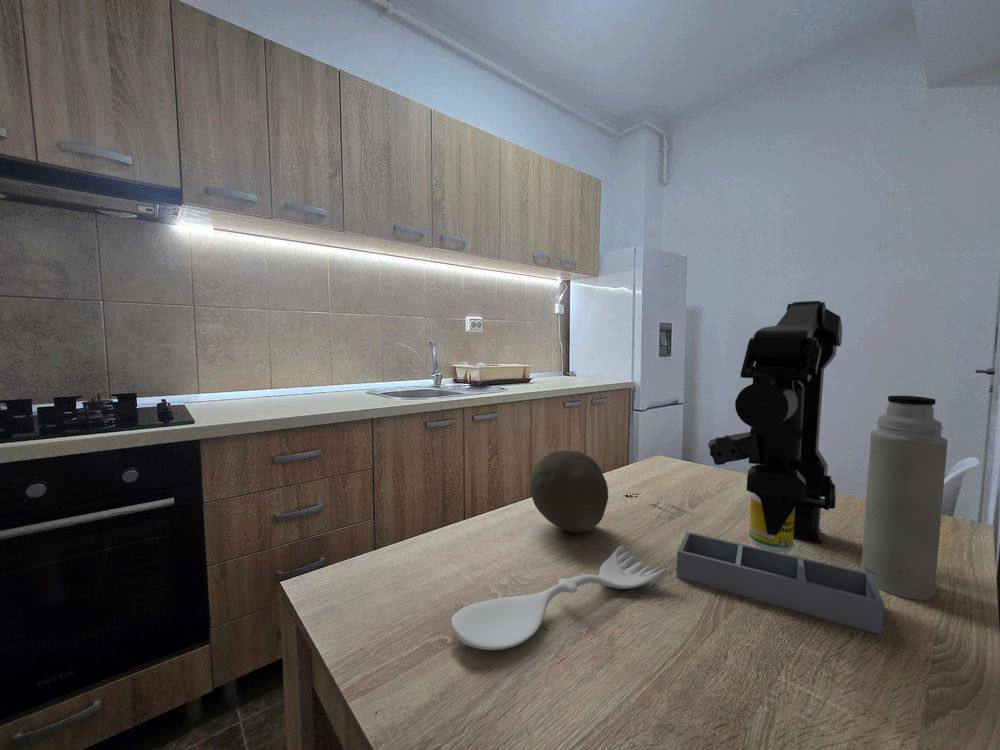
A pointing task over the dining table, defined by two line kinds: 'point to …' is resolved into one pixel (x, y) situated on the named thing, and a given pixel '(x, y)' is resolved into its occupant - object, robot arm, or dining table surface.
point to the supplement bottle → (759, 532)
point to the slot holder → (783, 580)
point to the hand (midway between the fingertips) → (771, 526)
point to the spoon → (539, 605)
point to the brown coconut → (569, 490)
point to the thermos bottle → (905, 498)
